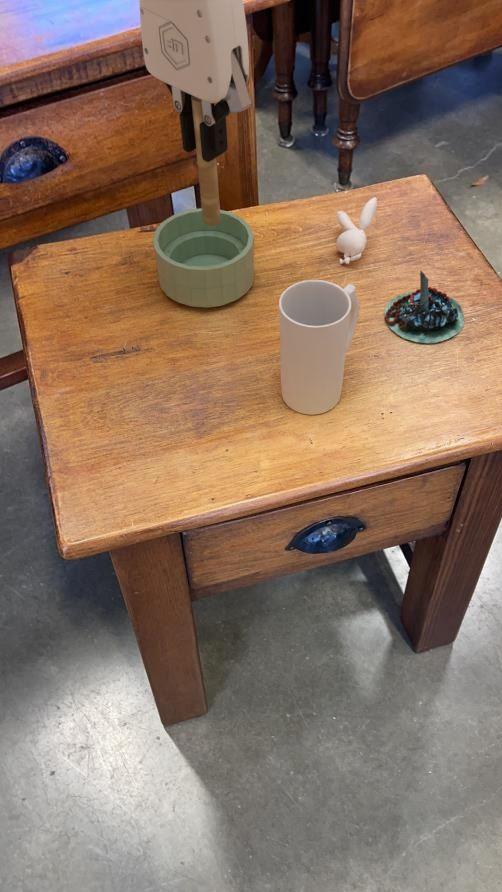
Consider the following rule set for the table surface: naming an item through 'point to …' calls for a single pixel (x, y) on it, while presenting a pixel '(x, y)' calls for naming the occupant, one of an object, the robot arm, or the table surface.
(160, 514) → the table surface
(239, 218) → the bowl
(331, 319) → the mug
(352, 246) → the rabbit figurine
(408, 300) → the dish
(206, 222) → the stick
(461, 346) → the table surface
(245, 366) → the table surface
